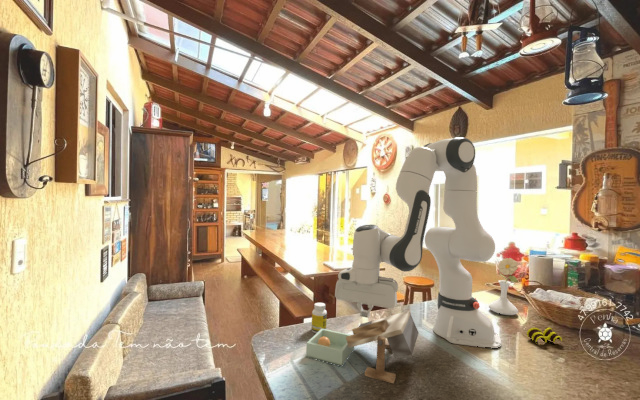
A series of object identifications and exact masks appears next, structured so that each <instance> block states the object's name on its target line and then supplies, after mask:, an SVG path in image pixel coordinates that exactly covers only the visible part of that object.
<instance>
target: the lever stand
mask: <svg viewBox="0 0 640 400" xmlns="http://www.w3.org/2000/svg"><path fill="white" fill-rule="evenodd" d="M395 314H396V313H393V312H392V313H391V315H390V316H392V315H395ZM376 344H377V345H376V364H375V365H376V367H375V368H374V367H369V366H367V367H366V369H365V371H364V376H365V377H369V378H372V379H376V380H379V381H384V382H387V383H391V384H395V380H396V378H397V377H396V375H397V374H396V373H392V372H389V371H385V368H386V367H385V361H386V348H387V349H390V350H391V347H390V345H389V343H388V340H387V338H386V337H381V336H378V338H377V341H376Z"/></svg>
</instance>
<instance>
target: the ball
mask: <svg viewBox="0 0 640 400" xmlns="http://www.w3.org/2000/svg"><path fill="white" fill-rule="evenodd" d="M318 344H319V345H323V346H327V347H330V340H329V339H328V338H327V337H321V338H320V339H319V340H318Z"/></svg>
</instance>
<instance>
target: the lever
mask: <svg viewBox="0 0 640 400" xmlns="http://www.w3.org/2000/svg"><path fill="white" fill-rule="evenodd" d="M394 314H395V315H392V316H391V315H389V316H385V317H382V318H379V319H375V320H370V321H367V322H363V323H361V324H359V326H358V327H354V328H352V329H351V331H352V333H353V334H349V335H350V336H347V337H346V340H347V345H348V347H349V348H350V347H354V348H355V347H358V346H362V345H364V344H369V343H373V342H377V338H378V336H381V337H386V340H387V341H388V343H389V345H390V347H391V349H390V350H391V352H392V354H393V357H394V359H398V358H403V357H407V356H412V355H413V353H414V352H413V351H414V349H415V346H416V343H417V340H418V336H419V330H418V328H417V326H416V323H415V321H414V319H413V316H412V313H411V311H410V310H405V311H403V312H399V313H394Z"/></svg>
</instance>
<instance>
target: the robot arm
mask: <svg viewBox="0 0 640 400" xmlns="http://www.w3.org/2000/svg"><path fill="white" fill-rule="evenodd" d="M475 158H476V149H475V145H474V143H473V142H472V140H470V139H469V138H466V137H457V136H455V137H454V138H445V139H440V140H438V141H434V142H430V143H427V144H425V145H423V146H416V147H415V148H414V147H413V149H411V150H410V152H409V154H407V156H406V159H405V161H404V162H403V165H402V166H401V169H400V171H399V174H398V177H397V179H396V184H395V190H396V191H395V192H396V193H397V196H398V197H399V198H400V200H402V201H403V202H404V203H405V204H407V206H408V214H407V220H406V223H405V226H404V227H405V228H404V231H403V234H402V235H401V236H398V235H396V234H392V233H389V232H387V231H385V230H383V229H381V228H380V227H379V226H378V225H375V224H364V225H360V226H358V227H357V228H355V231H354V234H353V239H352V256H353V260H352V261H353V262H352V267H347V268H345V269H342V270H340V271H339V273H338V274H337V278H338V279H337V281H336V284H335V290H334V297H335V298H336V300H339V301H345V302H351V303H356V307H357V309H358V310H359V317H363V318H367V319H369V318H370V316H371V311H372V309H373V308H374V306H375V307H379V308H380V307H381V308H387V309H394V308H395V307H396V306H397V305H398V296H397V295H398V294H397V292H398V290H399V283H398V281H396V279H394V278H392V277H385V276H380V273H381V272H380V267H381V265H380V264H381V263H385V264H388V265H390V266H393V267H394V268H396V269H398V270H399V271H401V272H405V273H406V272H411V271H412V270H415V269H416V268H417V267H418V266H419V265H420V264H421V261H422V258H423V248H424V247H423V245H424V244H425V247H426V249H427V250H428V251H429V252H430V253H431V254H432V256H433V257H434V260H435V262H436V265H437V268H438V273H439V274H438V275H439V291H438V294H437V299H436V301H437V302H436V305H437V312H436V314H437V315H436V318H435V323H434V325H433V328H432V330H433V332H434V333H435V334H436V335H438V336H439V337H442V338H444V339H445V340H447V341H448V342H449V343H452V344H455V345H463V346H471V347H477V346H478V347H479V348H485V347H491V348H490V349H492V348H498V347H500V345H501V346H502V340H501V337H500V335H499V334H497V332H495V328H494V324H493V322H492V321H491V319H490V318H489V317H488V316H487V315H486V314H485V313H483V312H482V311H481V310H479V309H480V303H479V302H478V300H477V298H476V297H473V277H472V274H471V272H470V271H468V270H467V269H466V268H465V267H464V265H463V264H462V262H461V260H464V261H469V262H477V263H479V262H480V263H481V262H482V263H483V262H488V261H489V260H490V259H491V258H493V256H494V254H495V251H496V243H495V240H494V239H493V237H492V236H491V235H490V234H489V233H488V231H486V230H485V229H484V227H483V226H482V223H481V222H480V220H479V216H478V209H477V207H478V205H477V202H478V201H477V199H478V198H477V197H478V177H477V176H478V175H477V169H476V166H475V164H474V163H475ZM435 172H444V176H445V180H444V181H445V182H444V189H443V191H444V193H443V211H444V213H445V215H447V216H448V217H449V218H451V219H452V221H453V223H454V227H449V226H435V227H430V228H429V229H428V230H427V231H426V228H427V224H428V219H429V216H430V211H431V205H432V203H431V201H432V200H431V195H430V188H431V185H432V182H433V178H434V175H435V174H436V173H435ZM423 243H424V244H423ZM362 305H367V308H368V309H364V308H363V306H362ZM500 348H501V347H500ZM498 349H499V348H498Z"/></svg>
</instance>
